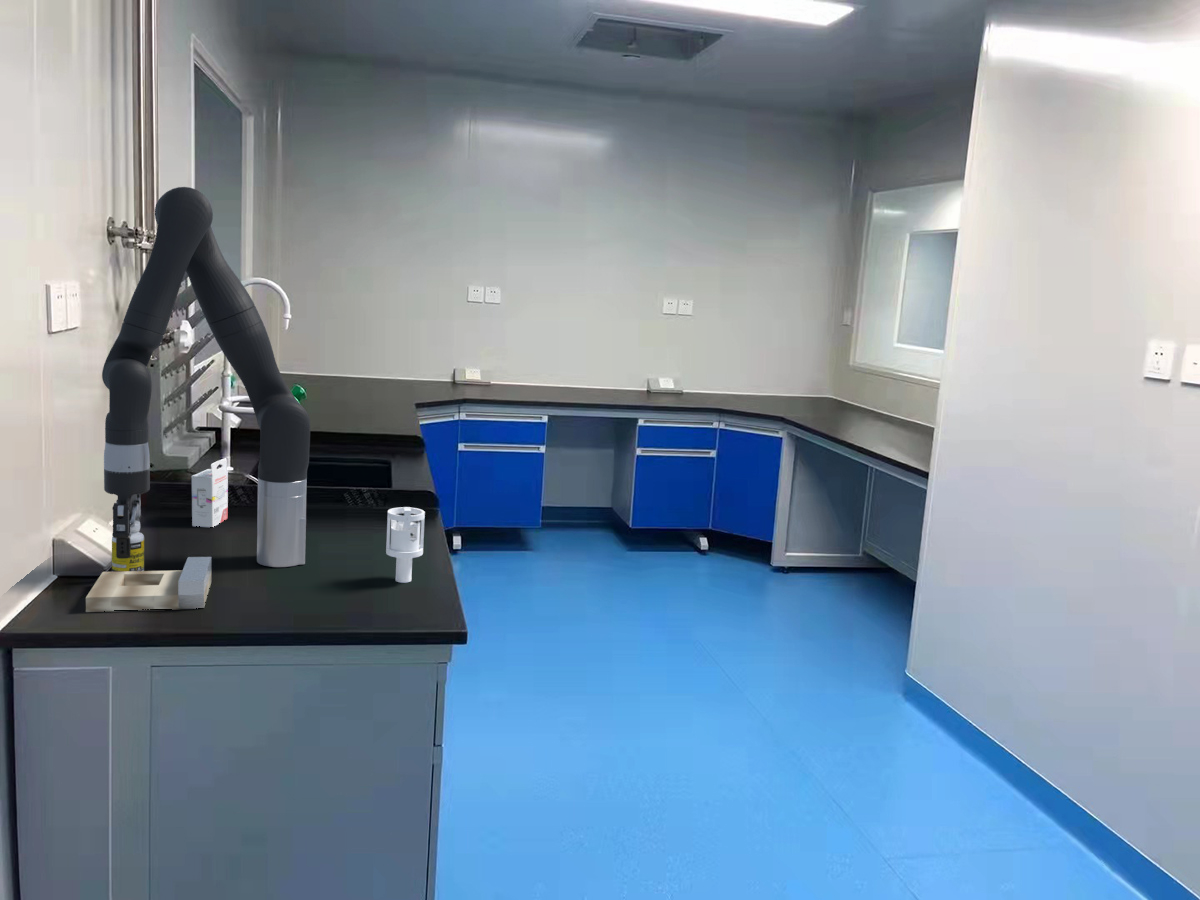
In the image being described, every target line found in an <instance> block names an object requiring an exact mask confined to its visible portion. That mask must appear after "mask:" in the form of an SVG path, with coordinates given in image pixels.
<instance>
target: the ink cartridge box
mask: <svg viewBox="0 0 1200 900" xmlns="http://www.w3.org/2000/svg"><path fill="white" fill-rule="evenodd" d="M219 465H220V466H221V467H219ZM217 467H219V468H217ZM228 472H229V470H228V459H227V457H224V458H222V459H218V460H217V461H215V462H213V463H212V462H211V464H210V468H207V469H205V470H202V471H200V472H198V473H196V474H193V475H191V517H192V519H191V521H192V522H191V526H192V527H196V526H197V527H198V528H199V526H200V528H210V527H213V528H215V527H216V526H218V525H220V524H221V523H223V522H224V520H225V521H226V520H228V517H229V516H228V513H229V512H228V508H229V506H228V503H229V498H228V497H229V492H228V491H229V489H228V488H229V483H228V482H229V481H228V480H229V473H228ZM219 523H220V524H219ZM214 526H215V527H214ZM197 527H196V528H197Z"/></svg>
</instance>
